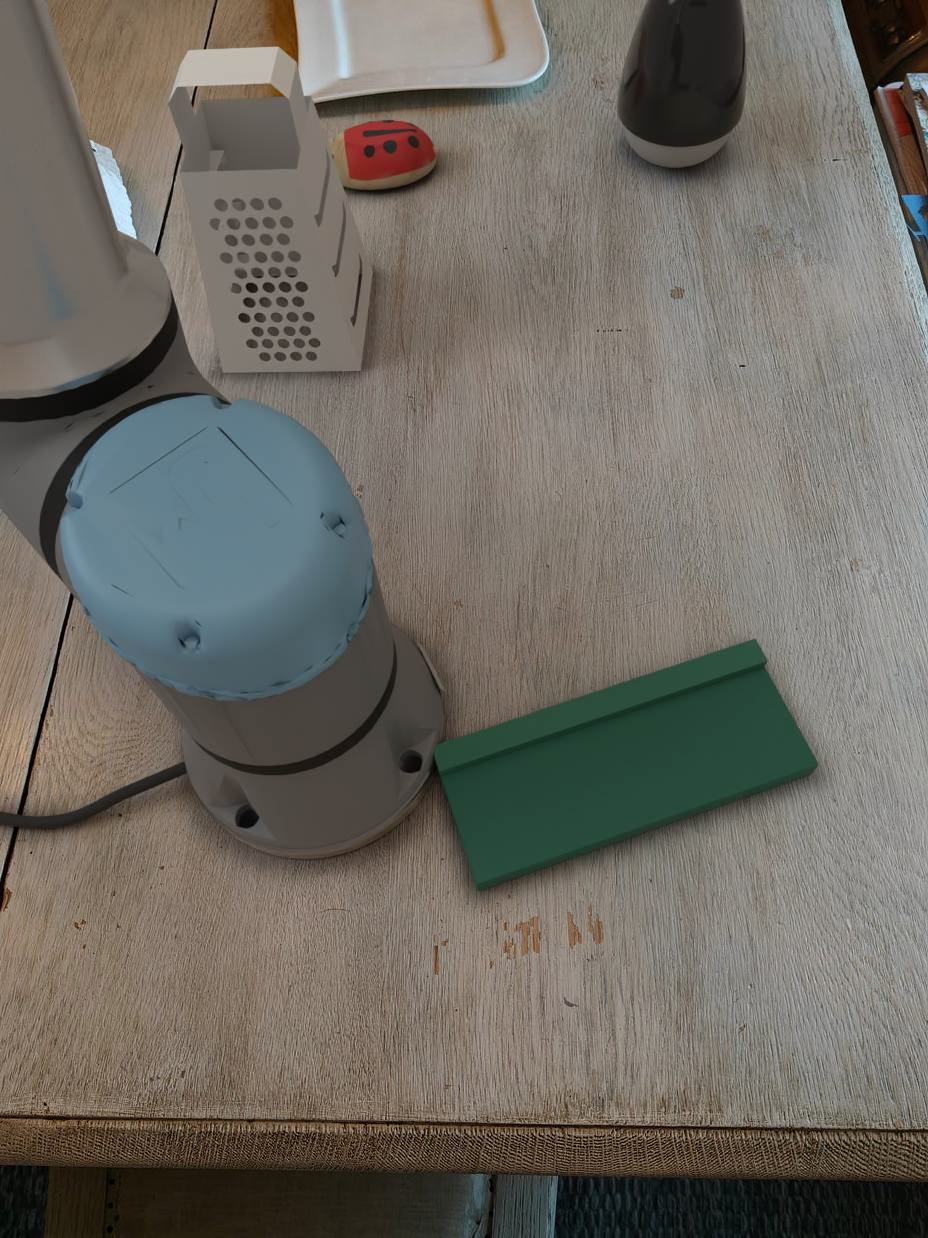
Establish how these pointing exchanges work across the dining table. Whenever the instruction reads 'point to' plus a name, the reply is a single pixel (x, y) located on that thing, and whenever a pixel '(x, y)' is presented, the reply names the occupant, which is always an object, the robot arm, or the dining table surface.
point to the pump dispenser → (684, 80)
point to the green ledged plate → (619, 763)
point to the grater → (269, 213)
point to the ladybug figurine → (383, 155)
